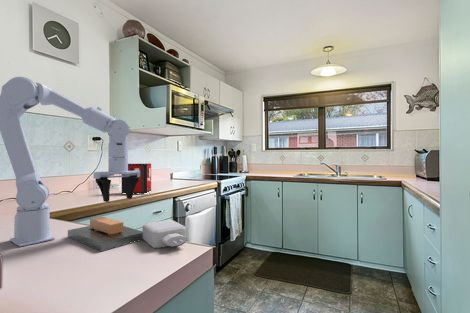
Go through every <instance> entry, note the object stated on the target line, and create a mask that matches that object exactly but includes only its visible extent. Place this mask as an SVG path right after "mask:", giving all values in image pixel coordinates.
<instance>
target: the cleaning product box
mask: <svg viewBox="0 0 470 313" xmlns="http://www.w3.org/2000/svg"><path fill="white" fill-rule="evenodd" d="M128 171H140V176H137V177H139V181H138V182H137V184H136V186H135V189H134V192H133V193H147V192H149V191H151V192H152V163H128ZM125 178H127V177H121V194H122V193H126V182H125Z"/></svg>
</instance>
